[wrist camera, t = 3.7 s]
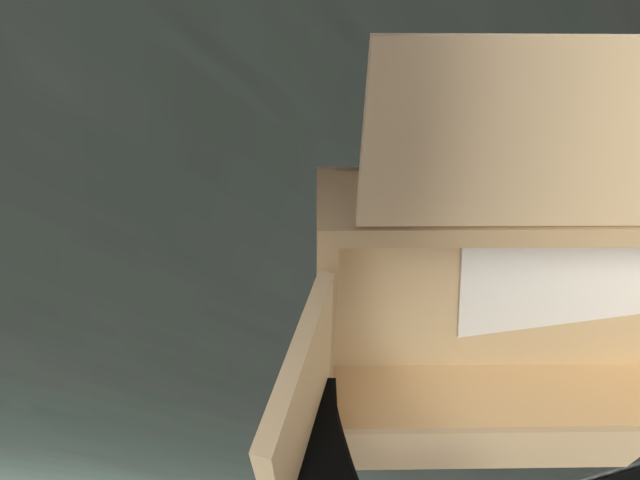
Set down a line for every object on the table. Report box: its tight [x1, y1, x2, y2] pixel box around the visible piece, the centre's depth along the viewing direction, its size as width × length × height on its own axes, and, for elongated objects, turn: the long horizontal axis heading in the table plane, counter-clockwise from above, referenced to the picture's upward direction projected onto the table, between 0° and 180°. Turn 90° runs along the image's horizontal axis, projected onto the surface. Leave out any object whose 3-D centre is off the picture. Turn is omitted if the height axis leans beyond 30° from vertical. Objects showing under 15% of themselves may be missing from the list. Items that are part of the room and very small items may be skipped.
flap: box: [249, 270, 334, 480], centre depth 11 cm, size 11×4×1 cm
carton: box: [317, 33, 640, 470], centre depth 15 cm, size 21×18×4 cm
